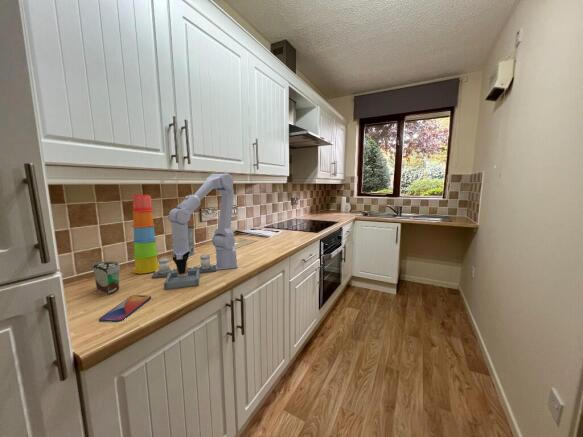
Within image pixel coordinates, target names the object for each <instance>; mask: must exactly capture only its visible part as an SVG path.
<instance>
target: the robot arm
mask: <svg viewBox="0 0 583 437" xmlns="http://www.w3.org/2000/svg"><path fill="white" fill-rule="evenodd" d="M212 190H216V191H218V192H219V194H220V196H221V198H220V208H219V216H218V217H219V220H218V228H217V229H215V231H214V234H213V237H212V239H211V243H212V245H213V246H214V249H215V260H216V263H215V265H216V271H219V270H230V269H237V268H238V265H237V263H238V259H237V258H238V257H237V249H236V247H234V246H235V244H236V240H235V233H234V232H233V231H232V228H231V224H232V216H233V205H234V195H235V191H234V178H233V177H232V175H231V174H229V172H228V173H226V172H225V173H211V174H210V175H209V176H207V177H206V180H205V182H204V183H203V184H202V185H201V186H200V187H199V188H198V190H196V192H195V193H194V194H188V195H186V196H184V200H182V202H181V203H179V204H178V205H176V207H175V208H172V209H171V210H170V211H169V213H168V215H167V220H168V221H169V222H170V225H171V235H172V236H171V237H172V238H171V239H172V248H173V249H170V250H169V253H173V255H174V254H175V256H173V257H172V261H173V262H174V264H175V265H176V269H178V272H179V274H183V273H185V270H186V262H187V263H188V259H189V257H190V256H188V255H189V253H190V251H189V250H190V249H189V242H188V226H189V225H188V223H189V222H190V220H191V216H192V214H193V213H194V212H195V211H196V210H197V209H198V207H200V206H201V200H203V199H204V198H205V197H206V196H207V195H208V194H209V193H210V192H211V191H212Z"/></svg>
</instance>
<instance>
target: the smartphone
mask: <svg viewBox="0 0 583 437" xmlns="http://www.w3.org/2000/svg"><path fill="white" fill-rule="evenodd" d="M150 300H152V296H151V295H146V294H145V295H143V294H142V295H141V294H140V295H139V294H137V295H135V294H134V295H131V296H129V297H127V298H126V299H125V300H123V301H122V302H121V303H119V304H118V305H116V306H115V307H113V308H112V309H110V310H108V311H107V312H105V314H103V315H102V316H100V317H99V318H98V322H101V321H109V322H110V321H112V322H111V323H119V322H118V321H121V322H123V321H125V320H126V319H127V318H129V317H130V316H131V315H133V314H134V313H135V312H136V311H137V310H139V309H140V308H142V307H143V306H144V305H145V304H146V303H148V302H149V301H150ZM128 316H129V317H128ZM125 318H126V319H125ZM124 319H125V320H124ZM122 320H123V321H122Z"/></svg>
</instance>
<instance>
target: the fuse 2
mask: <svg viewBox="0 0 583 437" xmlns="http://www.w3.org/2000/svg"><path fill="white" fill-rule="evenodd" d="M210 257H211V256H210V254H202V255H200V258H199V259H200V266H201V270H208V269H210V265H211V259H210Z"/></svg>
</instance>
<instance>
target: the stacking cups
mask: <svg viewBox="0 0 583 437" xmlns="http://www.w3.org/2000/svg"><path fill="white" fill-rule="evenodd" d="M132 207H133V208H132V209H133V210H132V211H131V212H132V216H133V225H131V226H132V227H133V240H132V243H133V247H134V248H133V250H134V254H133V256H132V257H133V258H134V266H135V267H134V268H135V269H134V270H133V273H135V274H139V275H142V274H149V273H154V272H155V271H156V270H159V260H158V255H159V253H158V251H157V244H156V240H157V238H156V235H155V223H154V216H153V211H154V209H153V206H152V196H151V195H150V194H136V195H135V194H133V196H132Z"/></svg>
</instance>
